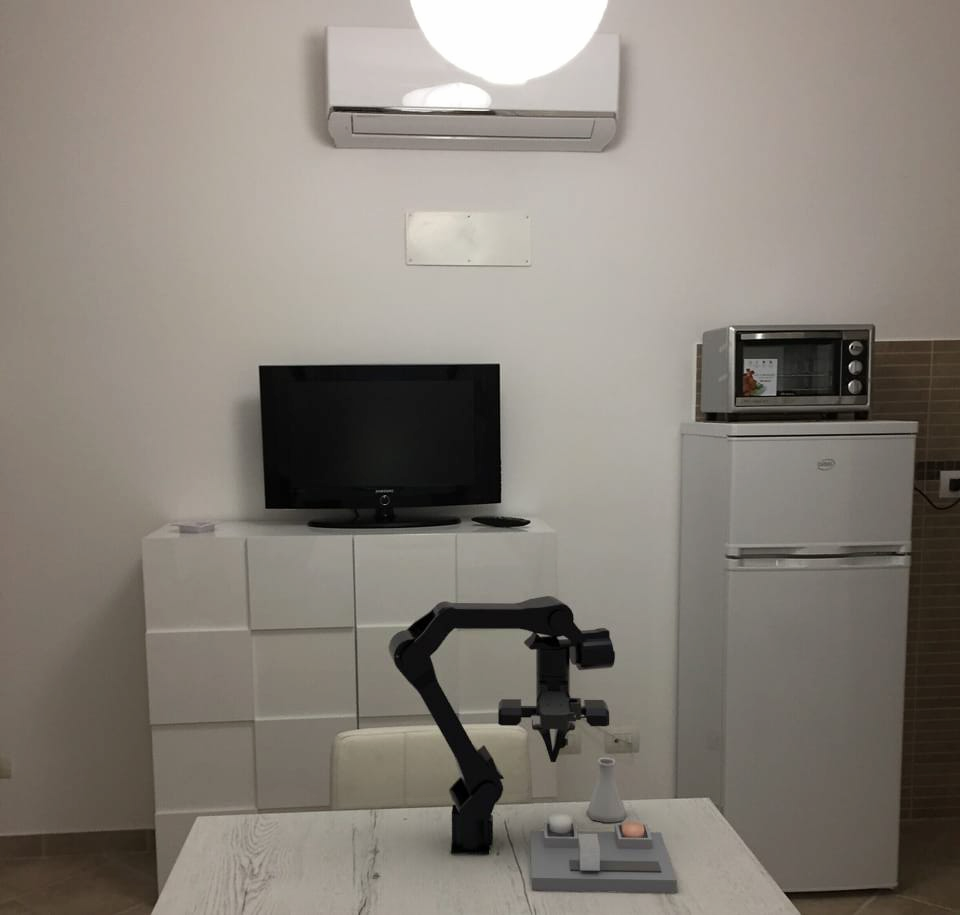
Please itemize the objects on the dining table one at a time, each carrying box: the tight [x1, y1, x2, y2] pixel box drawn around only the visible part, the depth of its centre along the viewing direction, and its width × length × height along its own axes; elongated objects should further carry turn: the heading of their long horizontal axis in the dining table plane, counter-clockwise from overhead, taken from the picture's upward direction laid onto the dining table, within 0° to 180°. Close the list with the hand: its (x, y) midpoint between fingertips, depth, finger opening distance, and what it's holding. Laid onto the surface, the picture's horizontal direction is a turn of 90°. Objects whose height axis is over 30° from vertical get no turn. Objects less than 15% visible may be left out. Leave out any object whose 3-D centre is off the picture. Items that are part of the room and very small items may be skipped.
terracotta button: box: [622, 821, 644, 838], centre depth 144 cm, size 4×4×2 cm
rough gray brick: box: [578, 834, 600, 871], centre depth 136 cm, size 3×4×4 cm
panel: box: [529, 821, 678, 894], centre depth 140 cm, size 22×15×4 cm
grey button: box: [549, 810, 572, 833], centre depth 145 cm, size 4×4×2 cm
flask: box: [586, 757, 627, 824], centre depth 158 cm, size 7×7×10 cm
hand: (553, 761), depth 150 cm, fingers closed
